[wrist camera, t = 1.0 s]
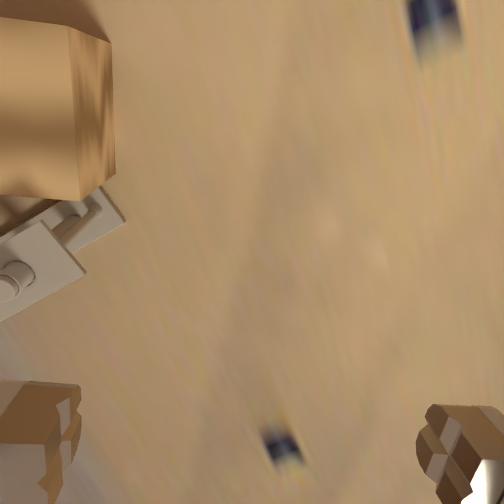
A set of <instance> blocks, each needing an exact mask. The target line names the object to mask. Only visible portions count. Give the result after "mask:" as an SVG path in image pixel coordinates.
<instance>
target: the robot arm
mask: <svg viewBox="0 0 504 504" xmlns="http://www.w3.org/2000/svg"><path fill="white" fill-rule="evenodd" d="M80 402H81V387H80V386H79V385H75V384H62V383H49V382H37V381H29V382H28V381H18V380H5V379H4V380H2V381H0V504H55V502H56V500H57V497H58V495H59V492H60V490H61V488H62V485H63V474H62V471H63V470H65V469H66V468H67V467H69V466H70V465H71V464H72V461H73V459H74V456H75V454H76V451H77V447H78V443H79V439H80V434H81V415H80V414H79V413H78V412H77V411H76V410H77V408H78V406H79V404H80ZM425 418H426V421H427V423H428V425H426V426H425V427H424V428H423V429H421V430H420V431H419V434H418V437H417V440H416V454H417V457H418V461H419V464H420V466H421V467H422V469H423V471H424V473H425V474H426V475H427V476H428V477H429V478H431V479H432V480H433V481H434V482H436V483H437V484H436V494H437V495H438V497H439V499H440V501H441V502H442V504H504V415H503V414H502V413H501V412H500V411H499V410H497V409H496V408H494V407H492V406H463V405H442V404H433V405H432V406H430V407H429V408H428V410H427V413H426V415H425Z"/></svg>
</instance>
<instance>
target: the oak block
mask: <svg viewBox="0 0 504 504" xmlns="http://www.w3.org/2000/svg"><path fill="white" fill-rule="evenodd" d="M114 174H116V169H115V139H114V109H113V79H112V49H111V43H108V42H106V41H103V40H101V39H98V38H96V37H93V36H91V35H89V34H86V33H84V32H81V31H79V30H76V29H74V28H71V27H69V26H65V25H57V24H50V23H42V22H35V21H27V20H20V19H13V18H5V17H0V195H11V196H22V197H34V198H46V199H58V200H70V201H81V200H82V199H84V198H85V197H86V196H88V195H89V194H90V193H91V192H93V191H94V190H95V189H96V188H98V187H99V186H100V185H102V184H103V183H104V182H105V181H107V180H108V179H109V178H110V177H112V176H113V175H114Z"/></svg>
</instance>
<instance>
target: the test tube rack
mask: <svg viewBox="0 0 504 504" xmlns="http://www.w3.org/2000/svg"><path fill="white" fill-rule="evenodd" d="M125 222H126V220H125V218H124V217H123V216H122V214H121V213H120V211H119V210H118V209H117V207H116V206H115V205H114V203H113V202H112V201H111V199H110V198H109V197H108V195H107V194H106V192H105V191H104V190H103V188H102V187H101V186H99V187H98V188H96V189H95V190H94V191H93V192H91V193H90V194H89V195H88V196H86V197H85V198H84V199H82V200H81V201H70V200H61V201H59V202H58V203H56V204H54V205H53V206H51V207H49V208H48V209H46V210H44V211H43V212H41V213H39V214H38V215H36V216H34V217H33V218H31V219H29V220H28V221H26V222H24V223H23V224H21V225H19V226H18V227H16V228H14V229H12V230H11V231H9V232H7V233H6V234H4V235H2V236H1V237H0V322H1V321H3V320H5V319H6V318H8V317H10V316H12V315H14V314H15V313H17V312H19V311H21V310H22V309H24V308H26V307H28V306H30V305H31V304H33V303H35V302H37V301H39V300H40V299H42V298H44V297H46V296H48V295H49V294H51V293H53V292H55V291H57V290H58V289H60V288H62V287H64V286H65V285H67V284H69V283H71V282H73V281H74V280H76V279H78V278H80V277H81V276H83V275H85V274H86V270H85V269H84V268H83V267H82V266H81V264H80V263H79V262H78V261H77V260H76V259H75V257H74V256H73V255H72V253H74V252H75V251H77V250H79V249H81V248H82V247H84V246H86V245H88V244H89V243H91V242H93V241H95V240H96V239H98V238H100V237H102V236H103V235H105V234H107V233H109V232H110V231H112V230H114V229H116V228H117V227H119V226H121V225H123V224H124V223H125ZM34 278H35V279H34ZM33 279H34V281H33V282H32V283H30V282H31V281H32V280H33ZM29 283H30V284H29Z"/></svg>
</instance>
